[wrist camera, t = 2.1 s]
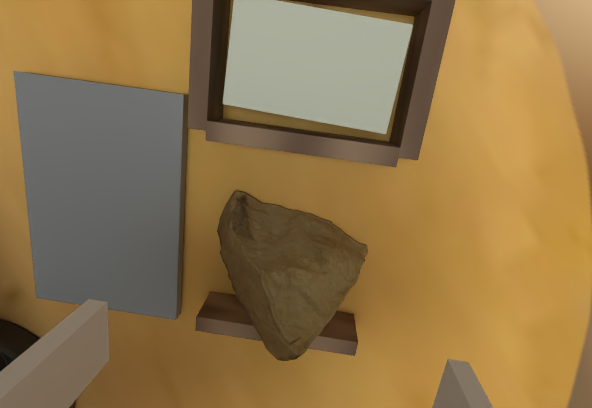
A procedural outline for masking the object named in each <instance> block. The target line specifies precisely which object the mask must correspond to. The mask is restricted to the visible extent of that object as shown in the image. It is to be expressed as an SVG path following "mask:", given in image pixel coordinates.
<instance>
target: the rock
mask: <svg viewBox="0 0 592 408" xmlns="http://www.w3.org/2000/svg"><path fill="white" fill-rule="evenodd" d="M217 232H218V235H219V238H220V244H221V251H220V254H221V257H222V260H223V262H224V264H225V266H226V268H227V271H228V276H229V279H230V280H231V282H232V286H233V289H234V291H235V294H236V296H237V298H238V300H239V301H240V302H241V303H242V304H243V305H244V307H245V309H246V311H247V314H248V316H249V318H250V320H251V322H252V323H253V325H254V327H255V329H256V331H257V332H258V334H259V336H260V337H261V339H262V341H263V343H264V345H265V347H266V349H267V350H268V351H269V352H270V353H271V354H272V355H273V356H274V357H275V358H276V359H277V360H281V361H288V360H294V359H297V358H298V357H299V356H301V355H302V354H304V353H305V351H306V350H307V348H308V347H309V345H310V344H311V343H312V342H313V340H314V339H315V338H316V337H317V336H318V335H319V334H320V333H321V332H322V331H323V329H324V327H325V325H326V324H327V323H328V322H329V321H330V320H331V319H332V317H333V316H334V314H335V312H336V311H337V309H338V307H339V305H340V304H341V302H342V301H343V300H344V297H345V295H346V294H347V293H348V291H349V290H350V288H351V287H352V286H353V285H354V284H355V283H356V281H357V278H358V275H359V273H360V269H361V265H362V264H363V263H364V262H365V256H366V254H367V253H368V250H367V246H366V245H365V244H360V243H357V242H356V241H355V240H353V239H352V238H351V237H349V236H348V235H346V234H345V233H343V231H342V230H341V229H340V228H338V227H336V226H335V225H333V224H332V222H331V221H328V220H324V219H321V218H318V217H316V216H314V215H312V214H310V213H303V212H301V211H297V210H294V211H292V210H289V209H285V208H283V207H282V206H278V205H274V204H264V203H260V202H259V201H257V200H256V199H254V198H252V197H250V196H249V195H248V194H246V193H244V192H239V191H234V192H233V194H232V196H231V198H230V199H229V201H228V203H227V204H226V206H225V208H224V210H223V212H222V215H221V217H220V222H219V225H218V230H217Z"/></svg>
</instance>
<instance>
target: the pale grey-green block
mask: <svg viewBox="0 0 592 408" xmlns="http://www.w3.org/2000/svg"><path fill="white" fill-rule="evenodd" d="M412 28H413V25H412V24H406V23H401V22H395V21H389V20H384V19H378V18H372V17H367V16H361V15H356V14H350V13H344V12H339V11H333V10H328V9H322V8H316V7H311V6H305V5H299V4H294V3H288V2H283V1H277V0H234V3H233V13H232V22H231V31H230V40H229V49H228V58H227V68H226V77H225V86H224V95H223V104H225V105H230V106H236V107H241V108H246V109H252V110H257V111H263V112H268V113H274V114H279V115H284V116H290V117H295V118H301V119H306V120H311V121H317V122H322V123H328V124H333V125H339V126H344V127H349V128H355V129H360V130H366V131H371V132H376V133H382V134H386V132H387V128H388V124H389V120H390V116H391V112H392V108H393V104H394V100H395V96H396V92H397V88H398V84H399V80H400V76H401V72H402V68H403V64H404V60H405V56H406V52H407V48H408V44H409V40H410V36H411V32H412Z"/></svg>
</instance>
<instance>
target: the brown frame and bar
mask: <svg viewBox="0 0 592 408" xmlns="http://www.w3.org/2000/svg"><path fill="white" fill-rule="evenodd" d="M291 1H299V2H307V3H315V4H323V5H331V6H338V7H346V8H354V9H362V10H370V11H378V12H385V13H393V14H401V15H409V16H415V21H414V26H413V31H412V36H411V40H410V45H409V50H408V55H407V60H406V64H405V69H404V74H403V79H402V84H401V88H400V93H399V98H398V103H397V108H396V113H395V117H394V122H393V127H392V132H391V137H390V141H389V142H388V141H381V140H374V139H366V138H359V137H352V136H345V135H338V134H330V133H323V132H316V131H309V130H302V129H294V128H287V127H280V126H273V125H266V124H259V123H251V122H244V121H237V120H230V119H223V118H222V117H223V95H224V86H225V72H226V57H227V42H228V27H229V12H230V0H192V22H191V48H190V74H189V101H188V127H187V128H191V129H198V130H205V131H206V140H207V141H214V142H221V143H228V144H235V145H242V146H249V147H256V148H264V149H271V150H278V151H285V152H292V153H299V154H306V155H313V156H320V157H327V158H334V159H341V160H348V161H355V162H363V163H370V164H377V165H384V166H391V167H396V165H397V161H398V158H404V159H411V160H418V157H419V153H420V149H421V144H422V140H423V136H424V132H425V127H426V123H427V119H428V115H429V110H430V106H431V102H432V98H433V93H434V89H435V85H436V81H437V76H438V72H439V68H440V64H441V59H442V55H443V51H444V47H445V42H446V38H447V34H448V30H449V25H450V21H451V17H452V13H453V8H454V4H455V0H291ZM196 331H202V332H208V333H215V334H221V335H227V336H234V337H240V338H246V339H252V340H259V341H262V339H261V337H260V336H259V334H258V332H257V331H256V329H255V327H254V325H253V323H252V322H251V320H250V318H249V316H248V314H247V311H246V309H245V307H244V305H243V304H242V303H241V302H240V301H239V300H238V298H237V296H235V295H228V294H222V293H215V292H211V293H210V294H209V296H208V298H207V299H206V301H205V303H204V305H203V306H202V308H201V310H200V311H199V313H198V315H197V316H196ZM357 344H358V339H357V333H356V326H355V320H354V314H350V313H344V312H337V311H336V312H335V314H334V316H333V317H332V319H331V320H330V321H329V322H328V323H327V324H326V325H325V327H324V329H323V331H322V332H321V333H320V334H319V335H318V336H317V337H316V338H315V339H314V340H313V342H312V343H311V344H310V345H309V347H308V348H309V349H315V350H321V351H328V352H334V353H340V354H347V355H353V356H355V354H356V349H357Z"/></svg>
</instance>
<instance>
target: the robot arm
mask: <svg viewBox="0 0 592 408" xmlns="http://www.w3.org/2000/svg"><path fill="white" fill-rule="evenodd" d="M109 360H110V358H109V329H108V302H104V301H98V300H92V299H88V300H87V301H85V302H84V303H83V304H82V305H81V306H79V307H78V308H77V309H76V310H75V311H73V312H72V313H71V314H70V315H68V316H67V317H66V318H65V319H64V320H62V321H61V322H60V323H59V324H58V325H56V326H55V327H54V328H53V329H51V330H50V331H49V332H48V333H47V334H45V335H44V336H43V337H42V338H41V339H37V338H36V337H35V336H33V335H32V334H30V333H29V332H27V331H25V330H24V329H22V328H20V327H18V326H16V325H13V324H11V323H8V322H6V321H3V320H0V408H74V401H75V400H76V399H77V398H78V397H79V396H80V394H81V393H82V392H83V391H84V390H85V388H86V387H87V386H88V385H89V384H90V383H91V381H92V380H93V379H94V378H95V377H96V375H97V374H98V373H99V372H100V371H101V369H102V368H103V367H104V366H105V365H106V364H107V362H108V361H109ZM432 408H493V406H492V404H491V403H490V401H489V399H488V397H487V395H486V393H485V392H484V390H483V388H482V386H481V384H480V382H479V381H478V379H477V377H476V375H475V373H474V371H473V370H472V368H471V366H470V364H469V362H463V361H457V360H451V359H448V360H447V363H446V366H445V369H444V372H443V376H442V379H441V382H440V385H439V388H438V391H437V395H436V398H435V401H434V404H433V407H432Z"/></svg>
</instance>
